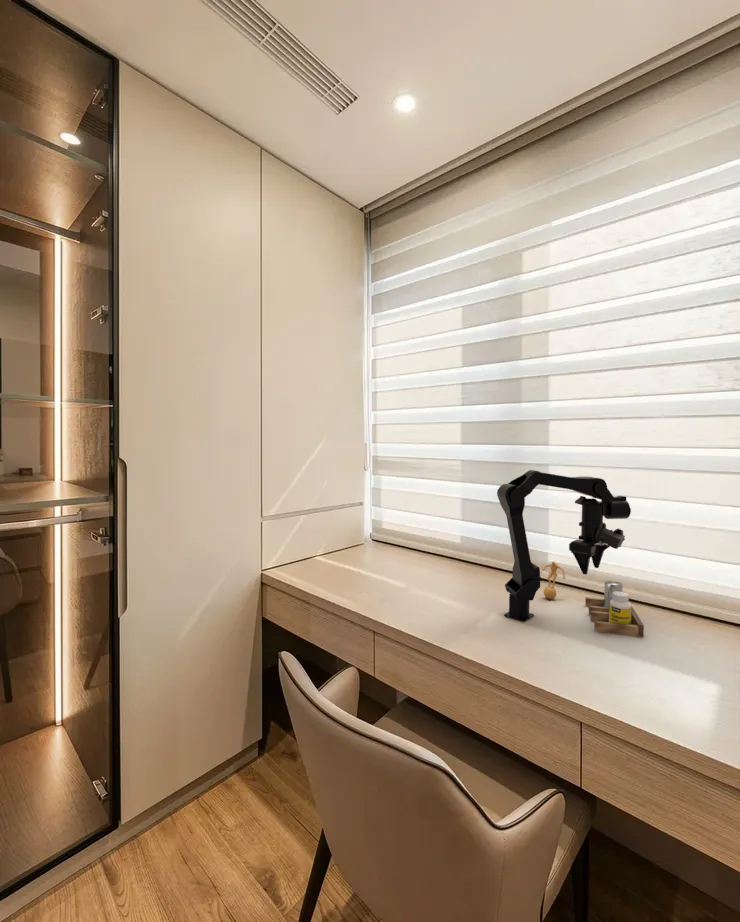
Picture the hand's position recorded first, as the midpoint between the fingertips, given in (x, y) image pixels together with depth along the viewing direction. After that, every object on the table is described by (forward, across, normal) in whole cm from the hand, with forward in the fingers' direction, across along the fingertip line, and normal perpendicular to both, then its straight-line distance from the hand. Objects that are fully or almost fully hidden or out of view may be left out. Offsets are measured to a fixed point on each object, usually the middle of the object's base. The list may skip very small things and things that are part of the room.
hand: (590, 570), depth 139 cm
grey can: (+13, +6, -5) cm, 15 cm away
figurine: (+13, +5, +14) cm, 20 cm away
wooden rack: (+13, 0, -6) cm, 14 cm away
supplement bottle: (+13, -5, -10) cm, 17 cm away
